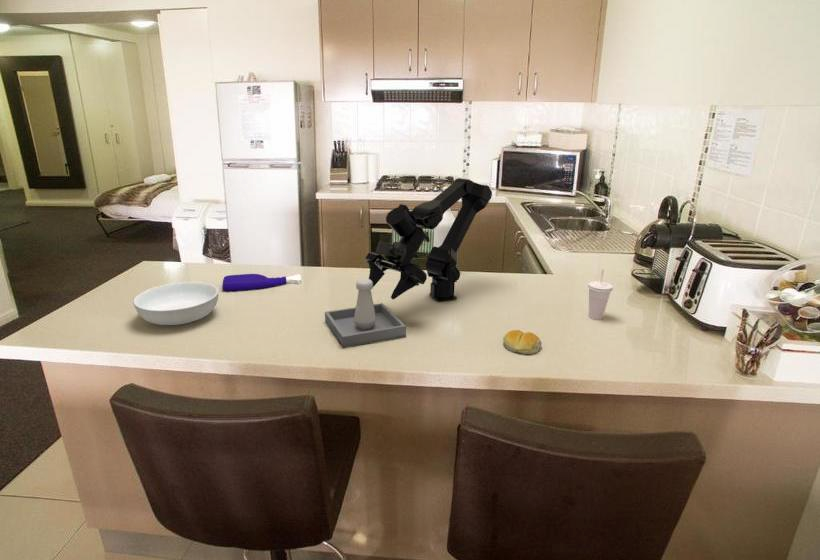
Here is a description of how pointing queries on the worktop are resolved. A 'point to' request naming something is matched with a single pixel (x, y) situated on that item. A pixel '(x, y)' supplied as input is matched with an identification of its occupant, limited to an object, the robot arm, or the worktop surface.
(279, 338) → the worktop surface
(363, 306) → the salt shaker
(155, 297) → the serving bowl
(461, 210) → the robot arm
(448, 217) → the bottle
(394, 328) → the tray
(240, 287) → the spray bottle
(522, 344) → the bread roll
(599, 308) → the smoothie
